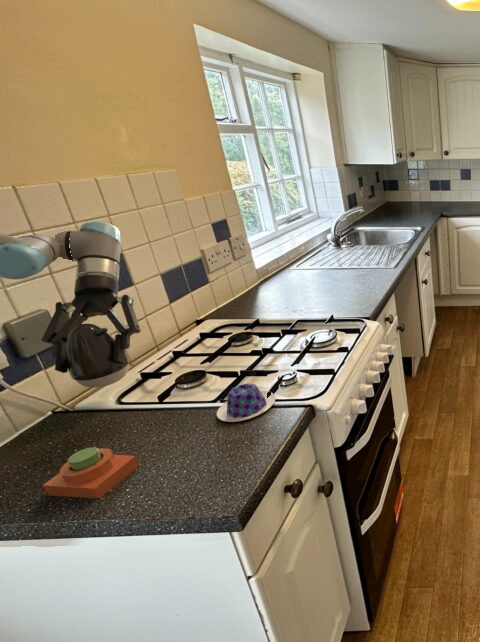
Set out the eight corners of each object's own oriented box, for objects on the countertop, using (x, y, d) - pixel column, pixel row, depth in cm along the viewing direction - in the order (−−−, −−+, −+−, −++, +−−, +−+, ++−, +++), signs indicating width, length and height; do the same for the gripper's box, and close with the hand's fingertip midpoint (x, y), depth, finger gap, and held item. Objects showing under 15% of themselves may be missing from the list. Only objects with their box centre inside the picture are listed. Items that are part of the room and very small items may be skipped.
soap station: (48, 495, 74) (37, 476, 72) (92, 462, 81) (83, 445, 80) (99, 498, 73) (89, 479, 72) (140, 465, 81) (131, 447, 79)
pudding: (286, 403, 99) (281, 385, 97) (233, 431, 90) (226, 411, 88) (260, 388, 105) (255, 370, 103) (207, 412, 96) (201, 393, 94)
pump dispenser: (109, 394, 94) (81, 335, 88) (65, 393, 94) (34, 334, 88) (146, 370, 104) (124, 315, 98) (106, 369, 104) (81, 315, 98)
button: (65, 470, 74) (61, 462, 73) (88, 455, 78) (84, 446, 77) (86, 472, 74) (81, 463, 73) (108, 456, 78) (104, 447, 77)
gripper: (160, 281, 109) (158, 361, 101) (49, 292, 101) (38, 380, 93) (145, 268, 102) (142, 352, 95) (25, 279, 94) (12, 372, 87)
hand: (90, 366), depth 94 cm, fingers closed on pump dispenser, 10 cm apart
